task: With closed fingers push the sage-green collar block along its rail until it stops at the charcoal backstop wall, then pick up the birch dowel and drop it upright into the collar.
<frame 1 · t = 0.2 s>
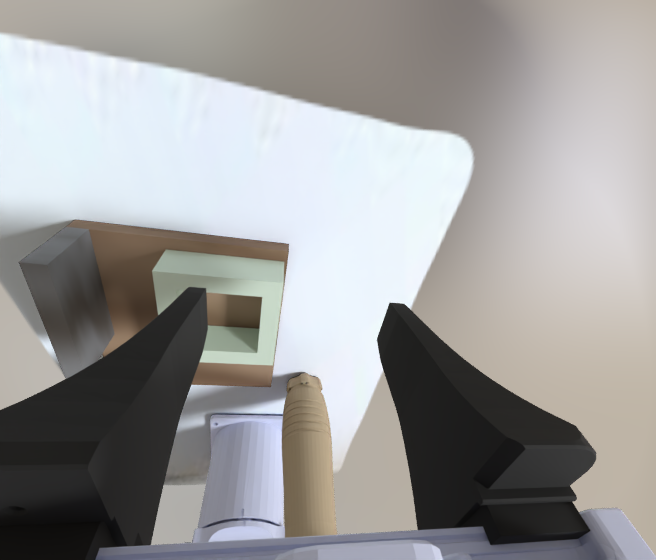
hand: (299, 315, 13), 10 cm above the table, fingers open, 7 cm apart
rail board: (193, 314, 25), on the table
collar block: (223, 311, 22), point 2 cm above the table, slide at 0.0 cm
handle: (303, 380, 31), on the table
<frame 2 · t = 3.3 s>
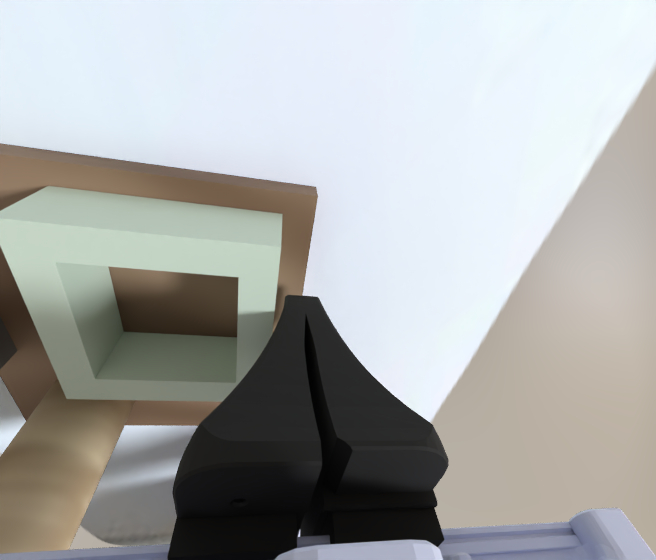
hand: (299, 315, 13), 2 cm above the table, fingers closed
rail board: (153, 316, 15), on the table
dowel: (94, 395, 16), point 1 cm above the table, touching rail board
collar block: (171, 308, 12), point 2 cm above the table, slide at 1.0 cm, touching gripper
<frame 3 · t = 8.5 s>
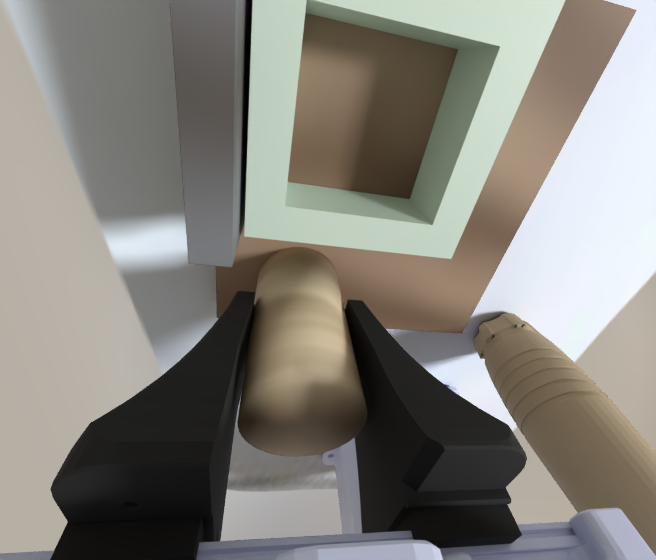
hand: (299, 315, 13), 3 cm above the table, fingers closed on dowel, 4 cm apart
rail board: (378, 187, 14), on the table
dowel: (297, 281, 15), point 1 cm above the table, touching gripper, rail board
collar block: (372, 126, 10), point 2 cm above the table, slide at 4.0 cm
handle: (495, 328, 20), on the table
when the fingers open (4 cm above the table, at t = 12.4 s): dowel stays where it is, resting on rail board.
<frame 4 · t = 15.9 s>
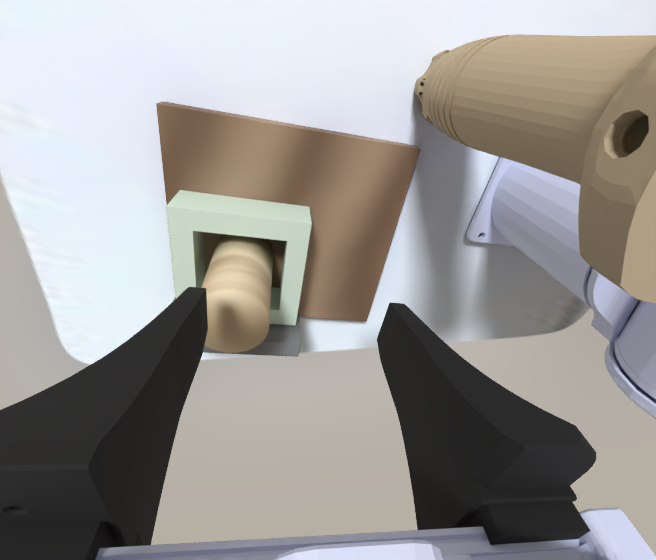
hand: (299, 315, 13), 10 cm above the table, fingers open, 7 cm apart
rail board: (285, 230, 21), on the table
dowel: (245, 253, 21), point 1 cm above the table, touching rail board
collar block: (242, 263, 20), point 2 cm above the table, slide at 4.0 cm
handle: (439, 87, 18), on the table
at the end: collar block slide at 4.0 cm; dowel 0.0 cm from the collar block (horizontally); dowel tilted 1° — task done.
